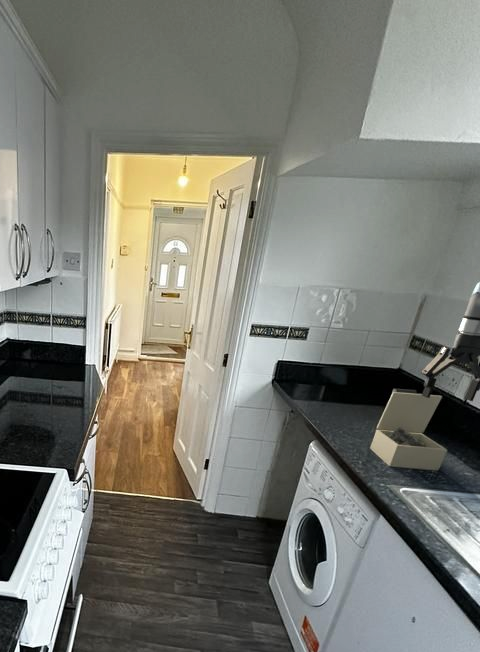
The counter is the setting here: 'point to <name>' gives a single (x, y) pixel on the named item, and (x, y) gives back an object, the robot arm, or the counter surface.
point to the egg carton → (405, 438)
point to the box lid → (408, 411)
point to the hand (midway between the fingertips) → (446, 398)
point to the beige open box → (408, 452)
